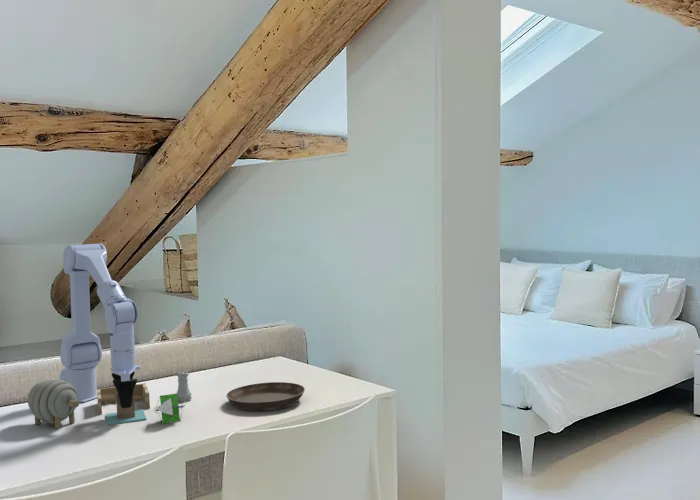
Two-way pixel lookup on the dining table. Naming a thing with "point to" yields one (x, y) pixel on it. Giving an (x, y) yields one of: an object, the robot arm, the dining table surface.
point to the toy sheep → (53, 401)
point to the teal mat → (114, 419)
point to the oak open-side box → (110, 395)
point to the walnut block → (125, 409)
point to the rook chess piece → (183, 387)
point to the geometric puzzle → (169, 408)
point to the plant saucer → (265, 396)
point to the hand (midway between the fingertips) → (125, 403)
